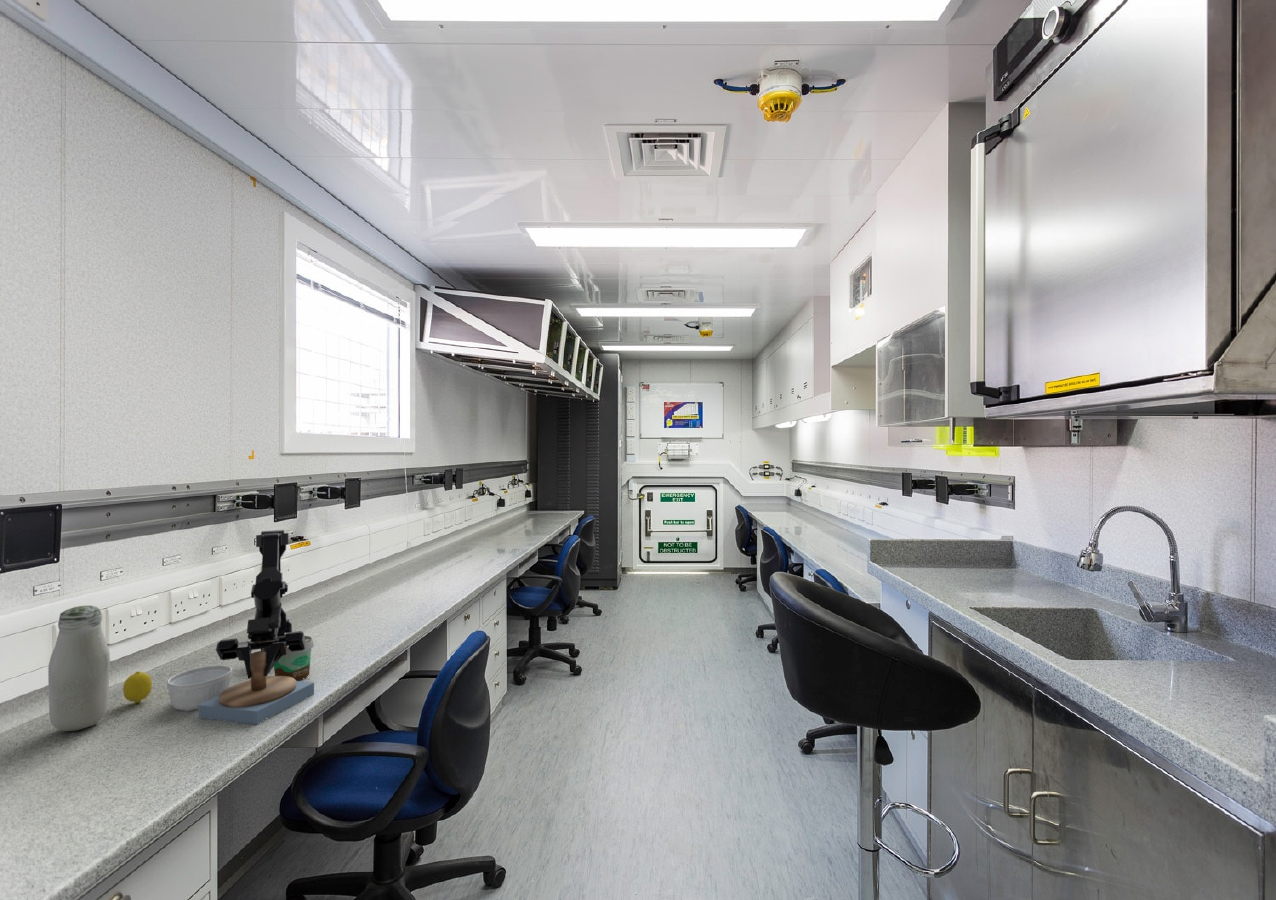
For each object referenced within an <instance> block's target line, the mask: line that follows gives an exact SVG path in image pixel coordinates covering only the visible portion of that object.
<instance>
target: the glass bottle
mask: <svg viewBox="0 0 1276 900" xmlns="http://www.w3.org/2000/svg"><path fill="white" fill-rule="evenodd" d="M102 621H103V613H102V611H101V609H100V608H99V607H97V606H95V605H79V606H74V607H71V608H68V609H65V610H64V611H62V612H60V614H59V618H58V622H57V624H58V625H57V626H58V630H59V631H58V633H57V637H56V641H55V646H54V648H53V650H52V652H51V655H50V658H49V662H48V668H47V669H48V671H47V673H48V678H47V679H48V680H47V681H48V714H49V719H50V720H49V721H50V723H51V726H53V727H54V728H55V729H57V730H59V731H64V732H74V731H79V730H83V729H87V728H89V727H91V726H94V725H96V724H97V723H99V722H100V721H102V719H103V718H104V716H105V715H106V713H107V711H108V709H109V701H110V670H111V669H110V666H111V656H110V648H109V646H108V643H107V640H106V637H105V635H104V633H103V627H102Z"/></svg>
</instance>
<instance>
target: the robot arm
mask: <svg viewBox="0 0 1276 900" xmlns="http://www.w3.org/2000/svg"><path fill="white" fill-rule="evenodd" d="M289 534H290V533H289V532H285V530H284V529H277V530H276V529H275V530H262V531H261V533H260V534H256V536H255V548H258V549H259V550H258V551H259V552H260V554H261V557H262V558H261V571H260V572H259V573H257V575H256V577H255V584H252V587H251V590H250V596H251V597H250V598H251V599H253V600H254V607H255V614H254V618H253V619H249V620H247V627H246V634H247V639H248V640H249V641H247V640H244V641H239V640H238V638H237V637H236V638H228V639H220V641H218V643H216V648H215V651H216V653H217V655H218V657H219V659H220V660H221V661H227V660H235V659H237V658H238V661H241V662H242V661H243V663H244V667H245V671H246V675H247V679H248V680H251V654H252V653H253V652H252V651H255V650H260V651H266V668H265V677H269V674H270V672H271V671H272V670H273V669H274V665H275V664H276V662H277V661H278V660H279V659H280V658H281V657H282V656H283V655H286V653H287V652H286V648H287V646H289V647H288V649H289V650H290V651H291V652H293V651H301V650H304V649H305V637H304V636H305V634H304V632H303V631H302V630H298V631H293V624H292V623H291V621H290V619H289V618H287V616H288V615H287V613H286V611H285V610H284V609H283V607H282V605H283V604H282V601H281V600H282V598H283V597H284V595H286V593H288V592H289V591H288V590H289V584H287V582H286V581H285V580H283V573H282V572H281V571H282V570H281V567H282V566H281V562H282V557H283V556H284V554H285V552H286V550H287V546H288V545H290V544H289V543H290V542H289V541H290V539H289Z"/></svg>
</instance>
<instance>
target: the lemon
mask: <svg viewBox="0 0 1276 900" xmlns="http://www.w3.org/2000/svg"><path fill="white" fill-rule="evenodd" d="M152 689H153V681H152V677H151V676H150V675H149V674H148V673H146V672H141V671H139V670H138V671H136V672H134V673H132V674H131V675H130V676H128V677H127V679H125V681H124V683H123V688H122V692H123V696H124V698H125V699H126V700H127V701H129V702H134V703H135V704H139V703H141V701H142V700H144V699H145V698H147V697H148V696H149V695H150V693H151V691H152Z"/></svg>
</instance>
